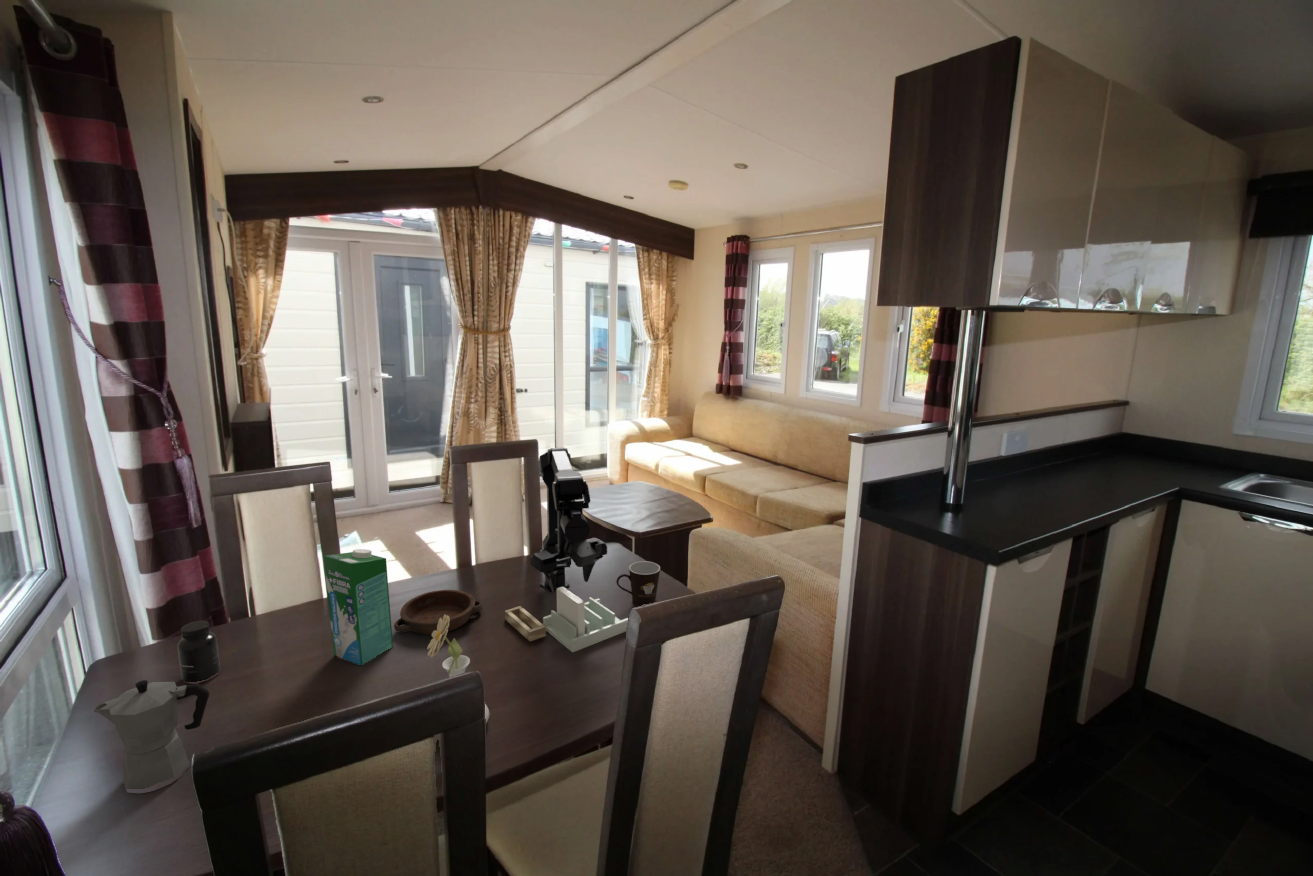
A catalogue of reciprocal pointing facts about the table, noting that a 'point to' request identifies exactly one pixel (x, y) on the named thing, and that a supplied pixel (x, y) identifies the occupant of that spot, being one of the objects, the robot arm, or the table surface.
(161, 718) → the coffeepot
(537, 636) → the stand
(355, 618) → the milk carton
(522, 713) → the table surface
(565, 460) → the robot arm
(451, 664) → the flower in vase
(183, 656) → the supplement bottle
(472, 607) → the dish
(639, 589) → the coffee mug
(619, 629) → the rack
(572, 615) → the white slab
